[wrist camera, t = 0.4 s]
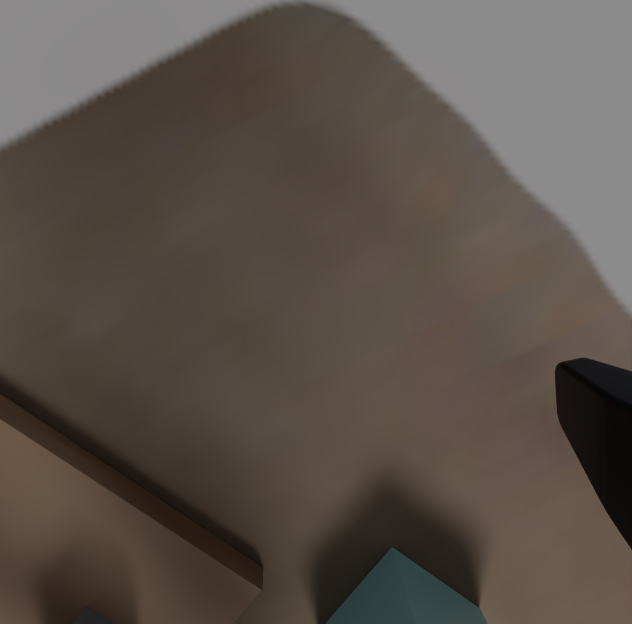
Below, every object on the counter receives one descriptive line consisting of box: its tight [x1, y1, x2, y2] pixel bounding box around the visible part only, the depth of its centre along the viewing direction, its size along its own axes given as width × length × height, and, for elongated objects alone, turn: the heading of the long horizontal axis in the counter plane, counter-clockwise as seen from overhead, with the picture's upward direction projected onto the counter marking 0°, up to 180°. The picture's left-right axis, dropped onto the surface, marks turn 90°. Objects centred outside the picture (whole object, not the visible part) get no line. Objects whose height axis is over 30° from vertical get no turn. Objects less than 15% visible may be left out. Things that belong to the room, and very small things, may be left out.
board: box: [0, 394, 263, 624], centre depth 24 cm, size 12×17×2 cm
